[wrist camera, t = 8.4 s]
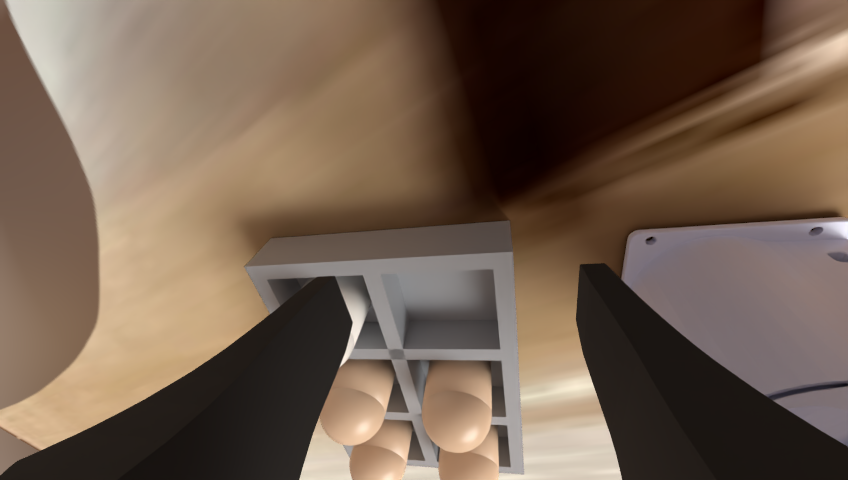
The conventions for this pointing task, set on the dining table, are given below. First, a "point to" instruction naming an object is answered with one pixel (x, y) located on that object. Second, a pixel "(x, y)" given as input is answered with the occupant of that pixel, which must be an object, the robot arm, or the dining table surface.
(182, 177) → the dining table surface
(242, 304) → the dining table surface
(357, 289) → the white egg
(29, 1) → the dining table surface
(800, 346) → the robot arm
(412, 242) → the egg carton
